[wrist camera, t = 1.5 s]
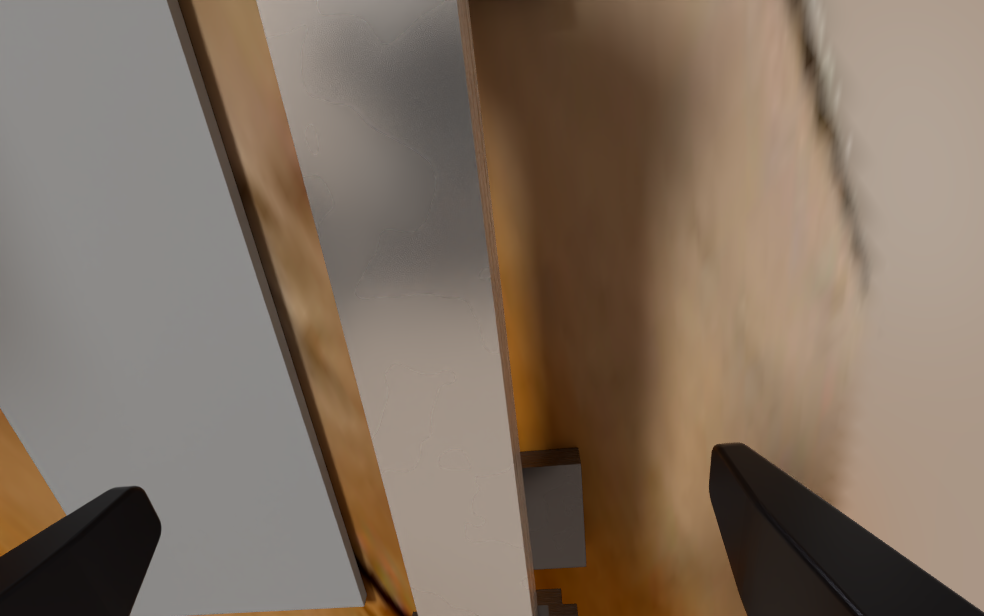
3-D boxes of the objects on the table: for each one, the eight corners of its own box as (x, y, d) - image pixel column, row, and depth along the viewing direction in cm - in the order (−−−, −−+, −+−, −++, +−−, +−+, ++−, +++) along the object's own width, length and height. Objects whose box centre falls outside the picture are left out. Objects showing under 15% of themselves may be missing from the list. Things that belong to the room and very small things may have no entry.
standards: (583, 548, 21) (616, 773, 15) (430, 557, 22) (398, 779, 15) (536, -310, 11) (579, -812, 4) (241, -260, 11) (-116, -652, 5)
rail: (544, 669, 17) (550, 765, 15) (464, 672, 17) (458, 767, 15) (417, -439, 7) (375, -660, 5) (226, -402, 7) (99, -599, 5)
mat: (366, 595, 23) (363, 606, 23) (137, 607, 24) (130, 618, 23) (57, -376, 11) (38, -392, 10) (-402, -289, 11) (-439, -301, 11)
